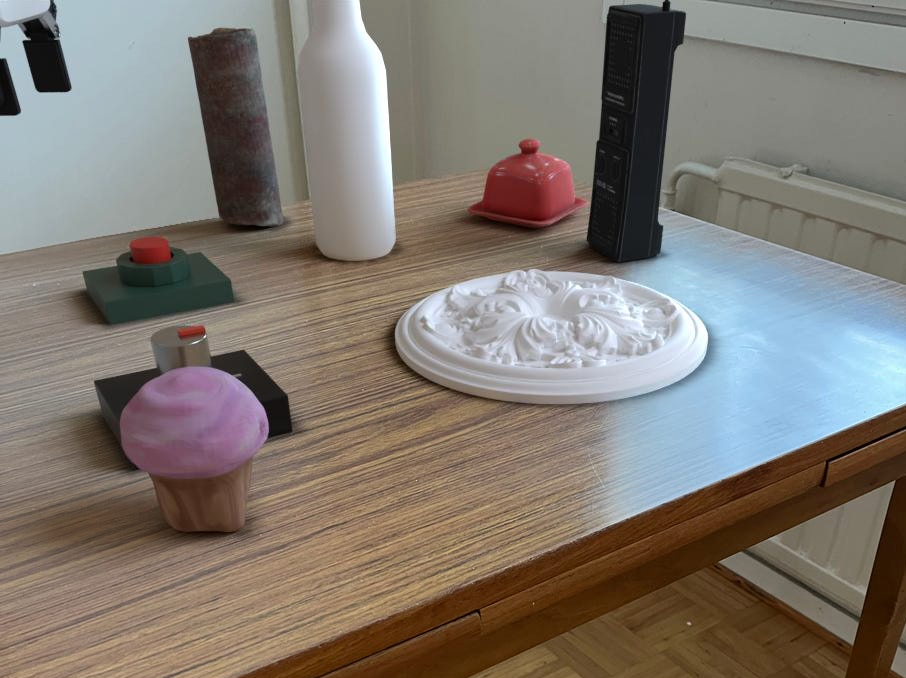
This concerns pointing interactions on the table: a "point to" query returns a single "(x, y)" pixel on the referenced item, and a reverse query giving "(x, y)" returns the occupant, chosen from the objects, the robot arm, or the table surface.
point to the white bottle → (346, 134)
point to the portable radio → (633, 129)
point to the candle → (236, 126)
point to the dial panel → (238, 364)
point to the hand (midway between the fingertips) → (29, 102)
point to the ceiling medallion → (551, 338)
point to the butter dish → (528, 189)
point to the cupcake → (196, 445)
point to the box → (157, 286)
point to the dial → (180, 348)
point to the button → (150, 250)
